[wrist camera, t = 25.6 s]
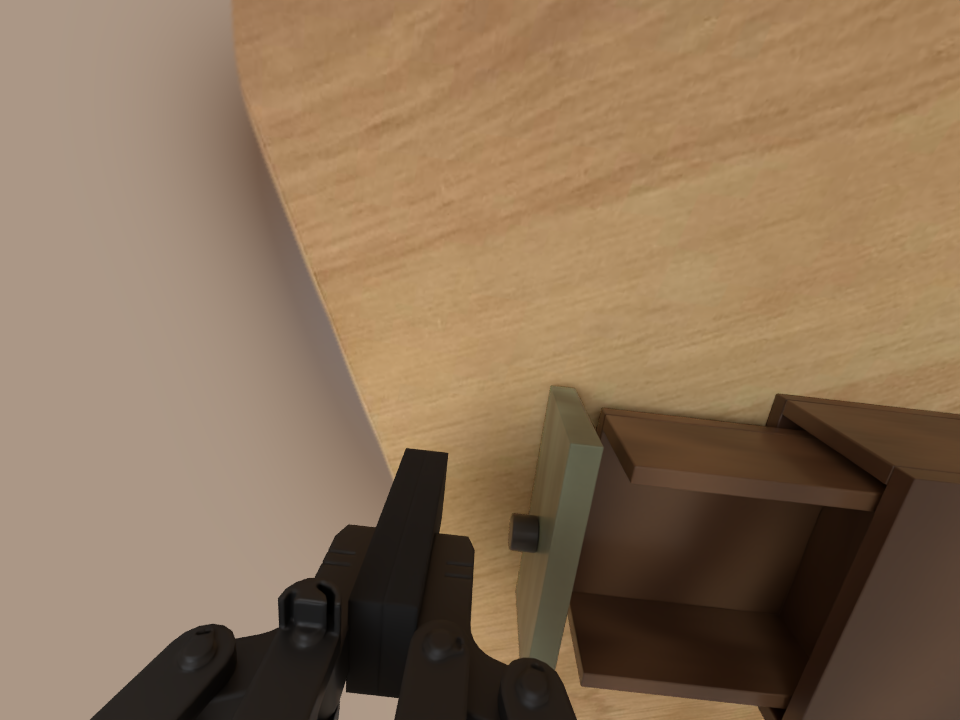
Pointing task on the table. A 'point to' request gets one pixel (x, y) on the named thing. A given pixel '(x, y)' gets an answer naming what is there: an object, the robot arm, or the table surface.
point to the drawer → (684, 551)
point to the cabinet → (888, 570)
